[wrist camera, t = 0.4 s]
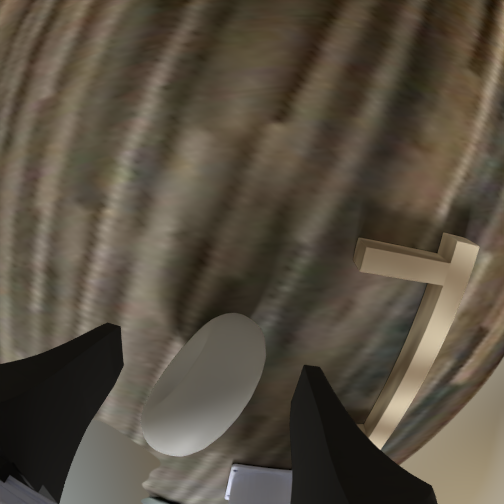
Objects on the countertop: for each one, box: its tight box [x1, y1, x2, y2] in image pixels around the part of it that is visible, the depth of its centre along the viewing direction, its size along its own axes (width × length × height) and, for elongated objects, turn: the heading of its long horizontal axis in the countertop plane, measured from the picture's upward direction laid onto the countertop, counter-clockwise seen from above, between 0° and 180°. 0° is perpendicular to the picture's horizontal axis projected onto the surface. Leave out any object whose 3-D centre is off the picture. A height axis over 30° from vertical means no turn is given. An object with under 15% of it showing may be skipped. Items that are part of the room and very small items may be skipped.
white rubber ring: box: [140, 313, 266, 456], centre depth 17 cm, size 10×4×10 cm, turn 139°
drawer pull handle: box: [353, 232, 479, 449], centre depth 21 cm, size 21×8×2 cm, turn 172°
